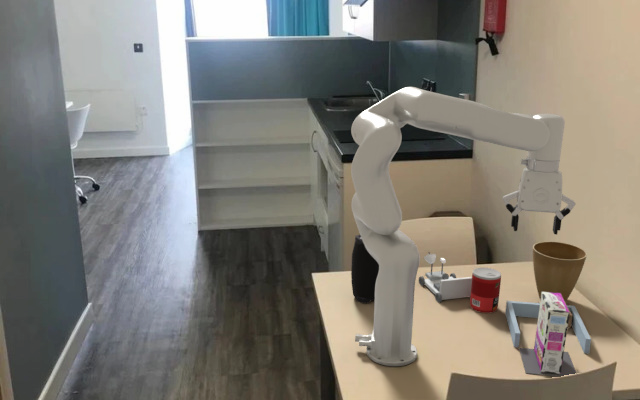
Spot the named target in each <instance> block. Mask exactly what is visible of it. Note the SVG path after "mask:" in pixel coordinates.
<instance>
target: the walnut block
mask: <svg viewBox="0 0 640 400" xmlns="http://www.w3.org/2000/svg"><path fill="white" fill-rule="evenodd" d="M568 310H569V309H568ZM569 312H570V310H569ZM571 322H572V314H571V312H570V314H569V321H568V328H567V329H571V328H572V325H571Z"/></svg>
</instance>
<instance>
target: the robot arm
mask: <svg viewBox="0 0 640 400" xmlns="http://www.w3.org/2000/svg"><path fill="white" fill-rule="evenodd" d="M405 125H410V126H413V127H415V128H418V129H422V130H426V131H431V132H437V133H443V134H447V135H452V136H455V137H456V136H457V137H460V138H465V139H468V140H469V139H470V140H473V141H478V142H484V143H489V144H494V145H498V146H502V147H506V148H512V149H515V150H519V151H520V150H521V151H525V152H527V156H526V157H525V158H524V159H523V158H521V159H520V165H522V166H525V167H524V168H523V170H522V172H521V177H520V179H519V184H518V190H516V191H512V192H511V193H508V194H506V195H503V196H502V200H503V201H502V202H504V203H503V204H504V205H505V207H506V209H507V211H509V213H510V214H511V221H510V222H511V223H510V227H512V228H513V232H517V231H518V227H519V218H520V216H519V214H520V212H521V211H525V212H526V211H527V212H535V213H536V212H537V213H538V212H540V213H551V214H553V213H554V214H555V216H554V217H553V222H552V223H553V225H552V232H553V234H554V235H558V232H559V231H561V227H562V226H561V225H562V220H563V219H564V218H565V217H566V216H568V215H569V214H570V213H571V211H572V210H573V209H574V207H575V206H576V202H575V200H573V199H571V198H569V197H568V196H566V195H564V194H563V172H561V171H560V170H559V169H560V162H561V153H562V145H563V140H564V139H563V138H564V131H565V119H564V117H563V116H561V115H558V114H555V113H537V114H527V113H518V112H508V111H505V110H504V111H503V110H501V109H497V108H495V107H494V108H493V107H491V106H488V105H486V104H484V103H480V102H477V101H474V100H469V99H464V98H460V97H455V96H450V95H447V94H442V93H438V92H435V91H434V92H433V91H429V90H425V89H421V88H419V87H415V86H406V87H403V88H401V89H399V90H397V91H395V92H393V93H391V94H390V95H388V96H386V97H385V98H384V99H382V100H379V102H376V103H375V104H373V105H372V106H370V107H368V108H367V109H364V111H362V112H361V113H359V114H358V115H357V116H356V117H355V119H354V121H353V122H352V124H351V130H350V132H351V136H352V138H353V139H352V140H353V141H354V142H355V143H356V144H357V146H358V148H357V150H356V152H355V154H354V156H353V158H352V159H353V160H352V162H351V166H350V172H351V173H350V175H351V180H352V184H353V188H354V191H355V192H354V194H353V196H352V198H351V203H350V204H351V213H352V216H353V218H354V222H355V223H356V227H357V230H358V233H359V235H361V238H362V240H363V243H364V245H365V247H366V249H367V251H368V252H369V254H370V255H371V256H372V257H373V258H374V259H375V260H376V261H377V263H378V264H379V272H378V276H377V279H376V284H375V300H374V310H373V328H372V329H373V330H372V332H371V333H368V334H362V333H359V334H358V333H355V337H354V338H355V339H354V341H355V342H357V343H358V346H359V347H366V349H365V351H366V352H365V353H366V355H367V357H368V358H369V359H370V360H371V361H373V362H375V363H377V364H379V365H382V366H387V367H401V366H402V367H403V366H406V365H409V364H411V363H413V362H414V361H415V360H416V359H417V356H418V349H417V348H416V346H415V345H414V344H412V339H413V323H414V307H415V306H414V305H415V290H416V289H415V288H416V287H415V286H416V281H417V273H418V271H419V270H418V269H419V267H420V259H421V257H420V251H419V248H418V246H417V244H416V243H415V241H414V240H412V238H410V237H409V236H408V235H407V234H406V233H405V232H403V231H402V230H400V227H401V225H402V223H403V222H402V221H403V212H402V208H401V205H400V203H399V200H398V197H397V193H396V192H395V187H394V185H393V181H392V178H391V176H390V164H391V163H392V160H393V158H394V157H395V155H396V153H397V152H398V150H399V148H400V146H401V145H402V138H403V137H402V136H403V135H402V131H401V128H404V126H405ZM513 199H516V203H517V204H516V205H514V206H513V205H512V204H511V202H510V201H511V200H513ZM562 202H564V203H565V204H567V205H566V207H564V208H563V209H561V208H562Z"/></svg>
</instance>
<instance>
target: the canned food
mask: <svg viewBox="0 0 640 400" xmlns="http://www.w3.org/2000/svg"><path fill="white" fill-rule="evenodd" d="M471 273H472V275H471V277H472V283H471V295H470V297H469V298H470V299H469V305H470V308H471V309H472V310H474V311H476V312H478V313H481V314H482V313H483V314H493V313H495V312H497V310H498V308H499V303H500V302H499V300H500V290H501V282H502V273H501V272H500V271H499V270H497V269H495V268H491V267H476V268H474V269H473V270H472V272H471Z"/></svg>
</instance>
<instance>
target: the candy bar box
mask: <svg viewBox="0 0 640 400" xmlns="http://www.w3.org/2000/svg"><path fill="white" fill-rule="evenodd" d="M539 303H540V308H539V315H538V318H537V324H536V331H535V338H534V339H535V341H534V348H533V349H534V352H535V355H536V358H537V361H538V365H539V368H540V372H543V373H551V374H561V368H562V361H563V354H564V352H565V346H566V341H567V334H568V329H569V328H568V321H569V314H570V312H569V310H568V308H567V306H566V305H567V303H566V302H565V301H564V299H563V297H562V295H561V293H554V292H541V300H540V301H539Z"/></svg>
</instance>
